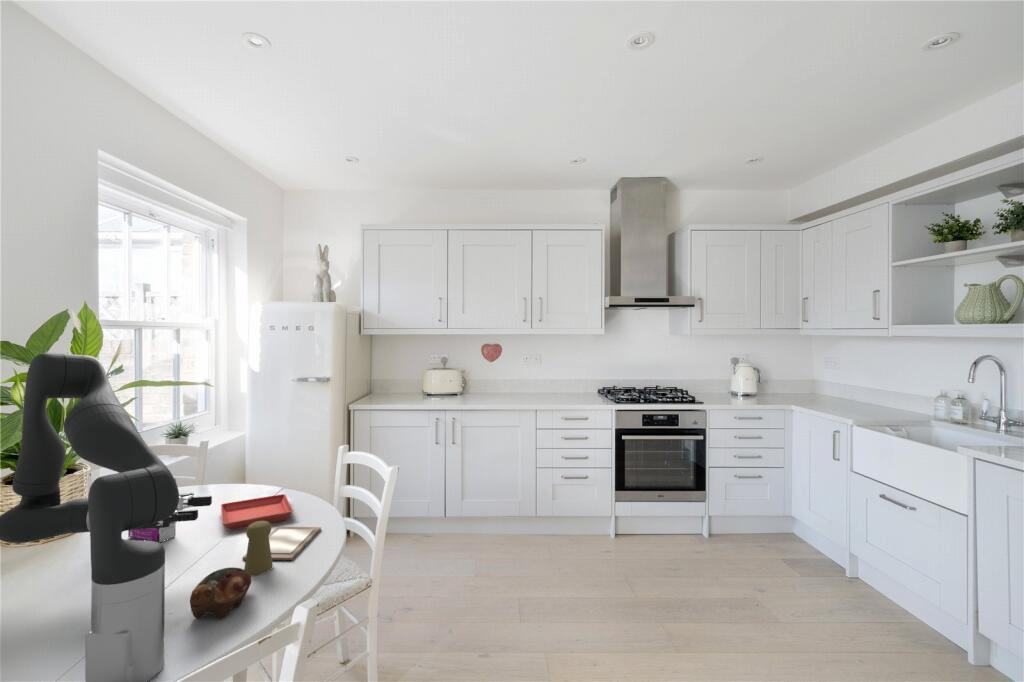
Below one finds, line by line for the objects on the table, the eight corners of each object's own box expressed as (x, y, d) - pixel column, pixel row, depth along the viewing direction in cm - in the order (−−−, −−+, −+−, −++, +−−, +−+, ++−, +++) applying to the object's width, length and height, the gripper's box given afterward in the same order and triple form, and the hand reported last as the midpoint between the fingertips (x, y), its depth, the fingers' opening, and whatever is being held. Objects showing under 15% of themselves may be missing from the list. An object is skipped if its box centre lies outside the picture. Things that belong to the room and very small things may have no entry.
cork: (260, 577, 106) (260, 529, 106) (237, 574, 107) (237, 526, 107) (278, 564, 112) (279, 519, 112) (256, 561, 113) (257, 516, 113)
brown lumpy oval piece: (169, 634, 85) (170, 590, 86) (219, 594, 101) (219, 556, 101) (223, 632, 86) (223, 587, 86) (265, 592, 101) (264, 554, 101)
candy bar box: (126, 538, 124) (126, 477, 124) (145, 531, 129) (146, 472, 129) (158, 544, 121) (158, 482, 121) (176, 536, 126) (177, 476, 126)
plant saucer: (220, 513, 143) (220, 503, 143) (285, 503, 153) (285, 493, 153) (222, 535, 128) (222, 523, 128) (293, 522, 138) (293, 511, 138)
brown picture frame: (291, 560, 114) (291, 556, 114) (242, 560, 113) (242, 556, 113) (320, 529, 132) (321, 526, 132) (278, 529, 131) (278, 525, 131)
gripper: (102, 508, 95) (192, 502, 99) (137, 485, 109) (215, 481, 113) (101, 544, 95) (192, 537, 100) (136, 516, 109) (215, 511, 113)
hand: (204, 507), depth 106 cm, fingers open, 8 cm apart
